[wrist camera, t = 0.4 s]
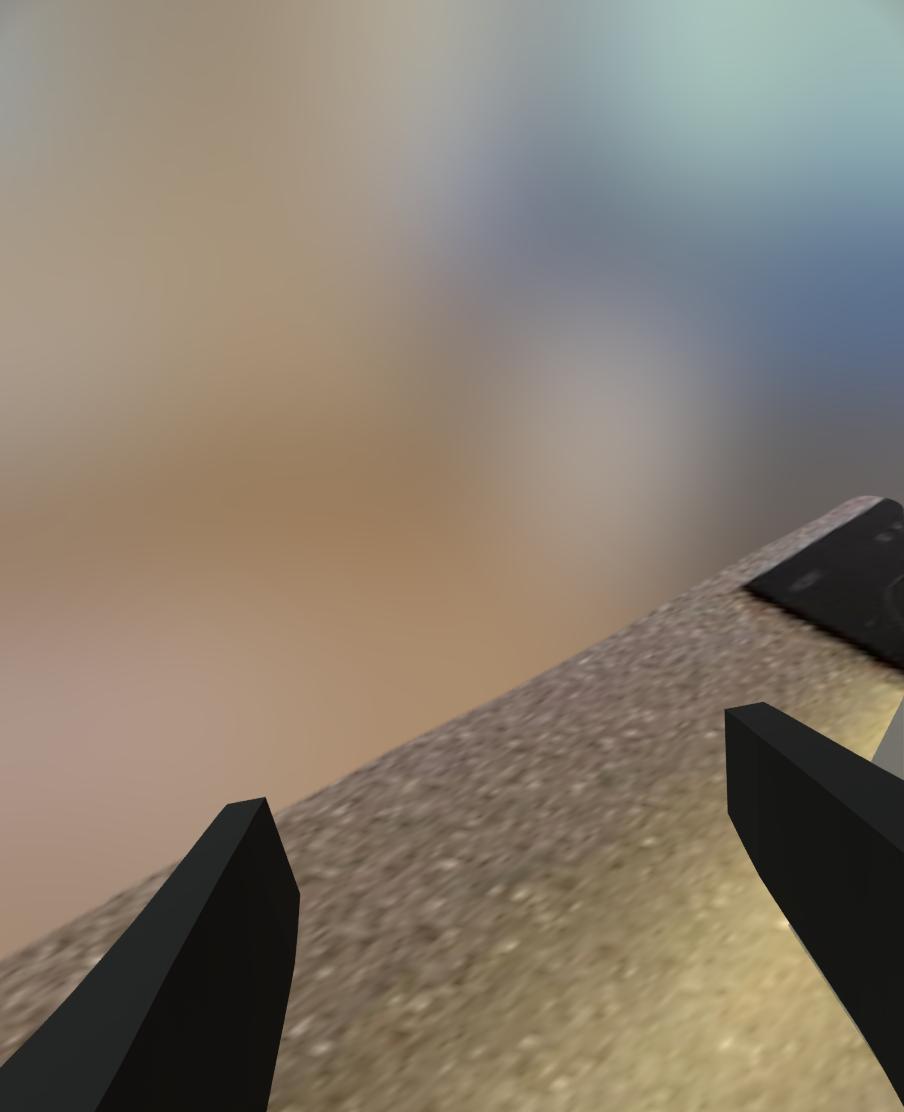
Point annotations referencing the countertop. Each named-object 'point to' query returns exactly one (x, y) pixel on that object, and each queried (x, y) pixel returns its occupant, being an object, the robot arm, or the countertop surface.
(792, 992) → the countertop surface
